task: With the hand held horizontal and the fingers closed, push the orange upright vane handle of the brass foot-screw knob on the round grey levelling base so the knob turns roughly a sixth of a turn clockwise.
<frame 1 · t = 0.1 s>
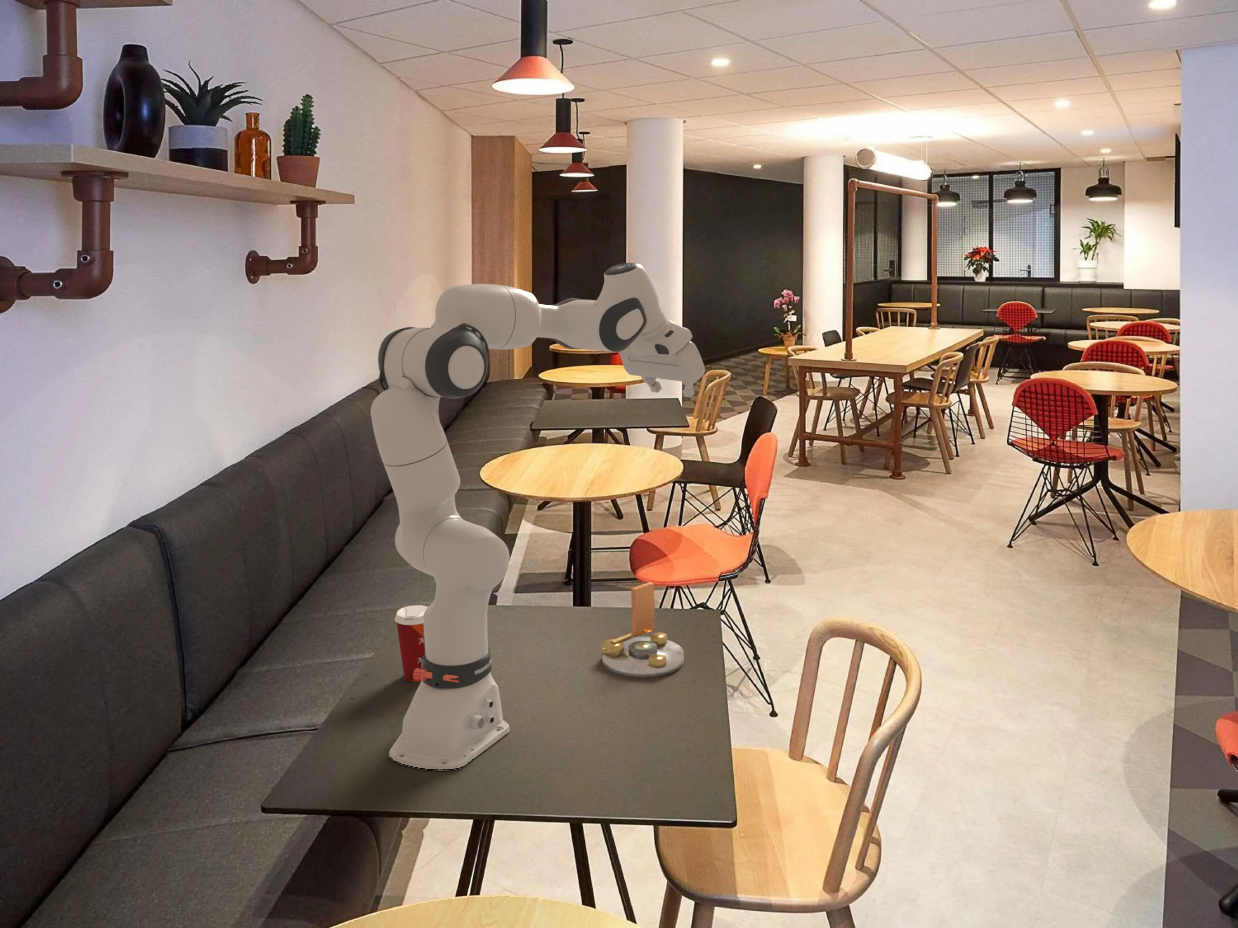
hand: (673, 393, 198), 54 cm above the table, tool tilted 30°, fingers open, 8 cm apart
paper cup: (418, 676, 194), on the table
levelling base: (643, 659, 199), on the table
vane knob: (628, 618, 201), point 8 cm above the table, hinge at 0.0°
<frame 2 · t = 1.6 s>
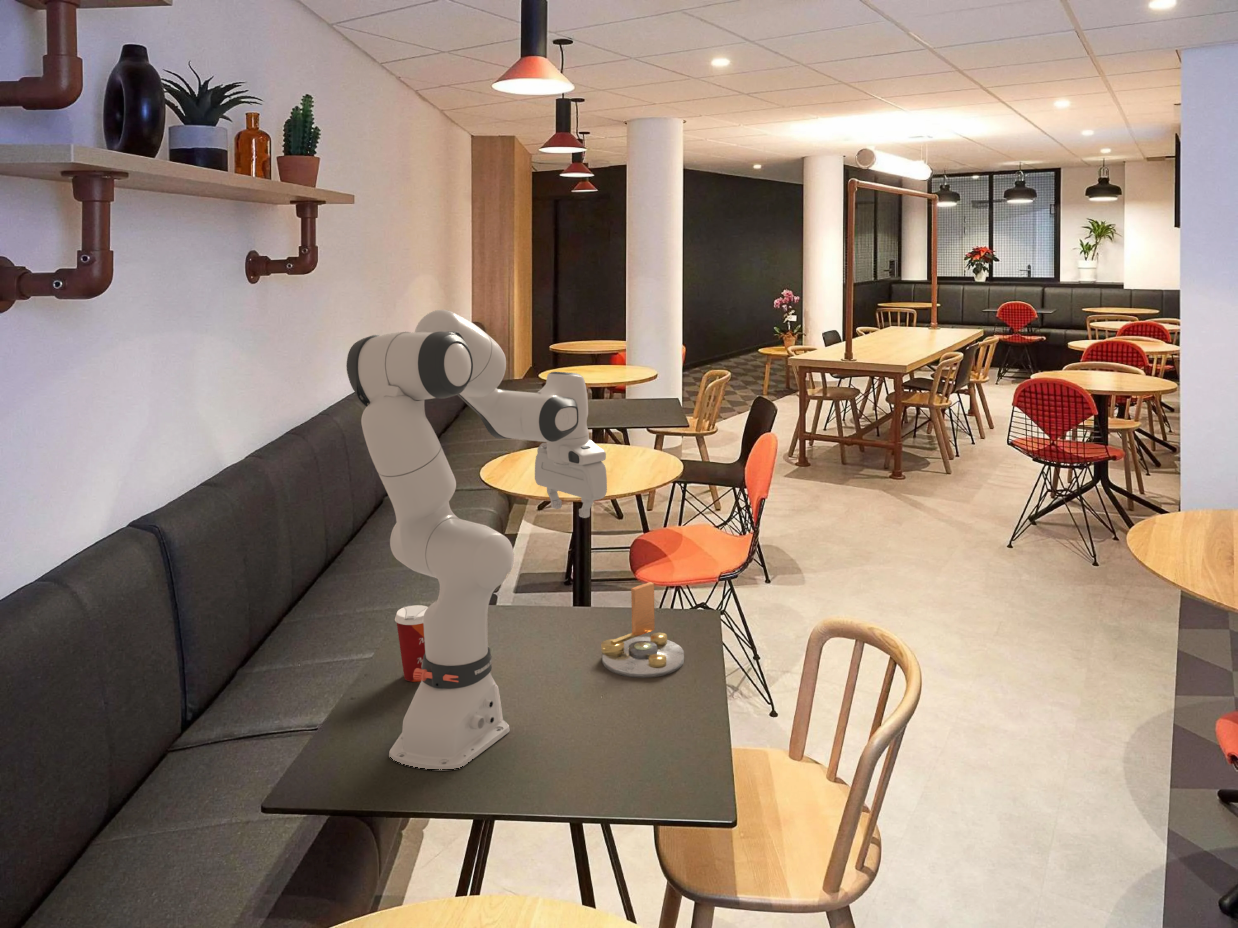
hand: (570, 512, 202), 29 cm above the table, tool pointing down, fingers open, 8 cm apart
nothing on the table moved.
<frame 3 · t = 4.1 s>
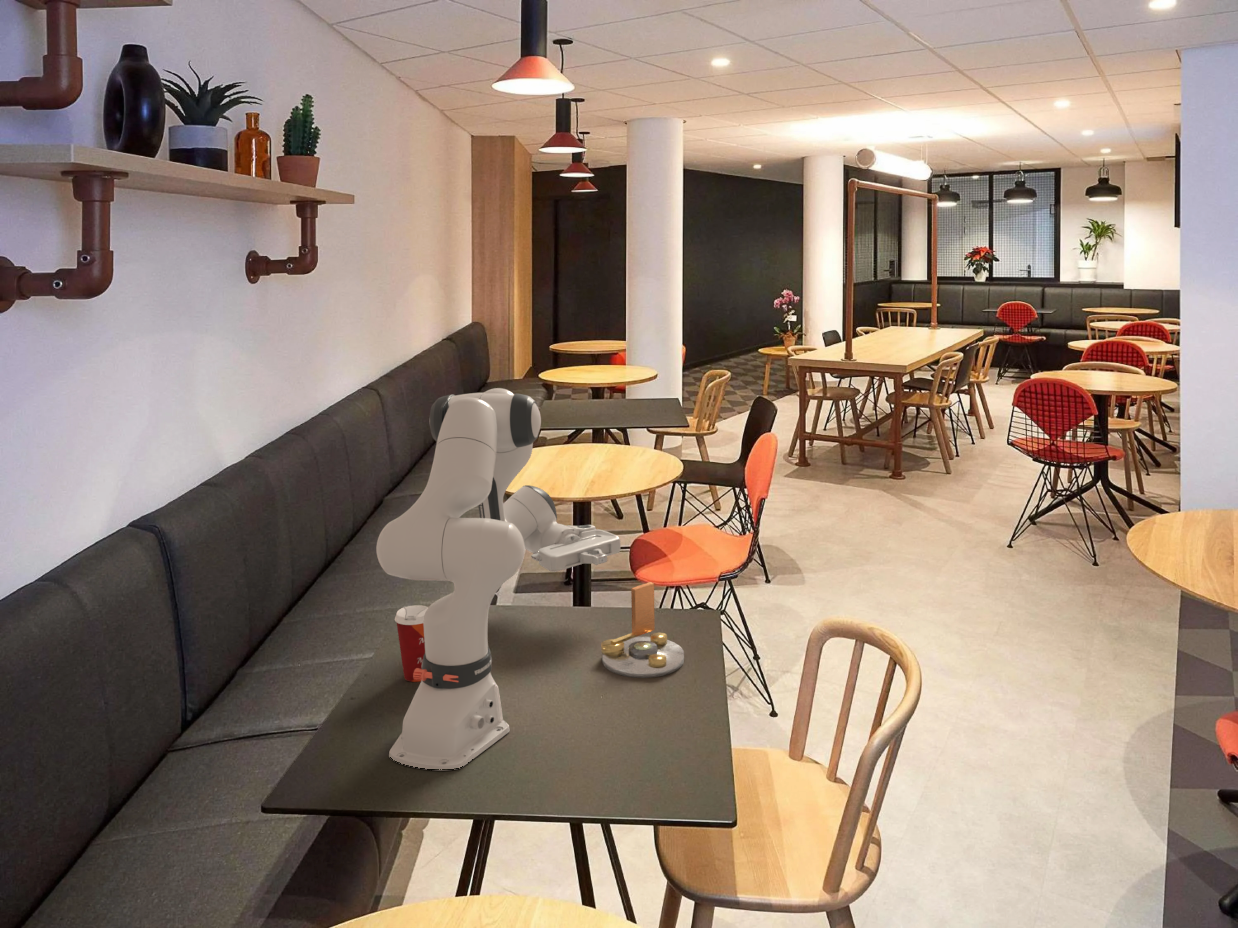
hand: (602, 560, 211), 17 cm above the table, tool horizontal, fingers closed
nothing on the table moved.
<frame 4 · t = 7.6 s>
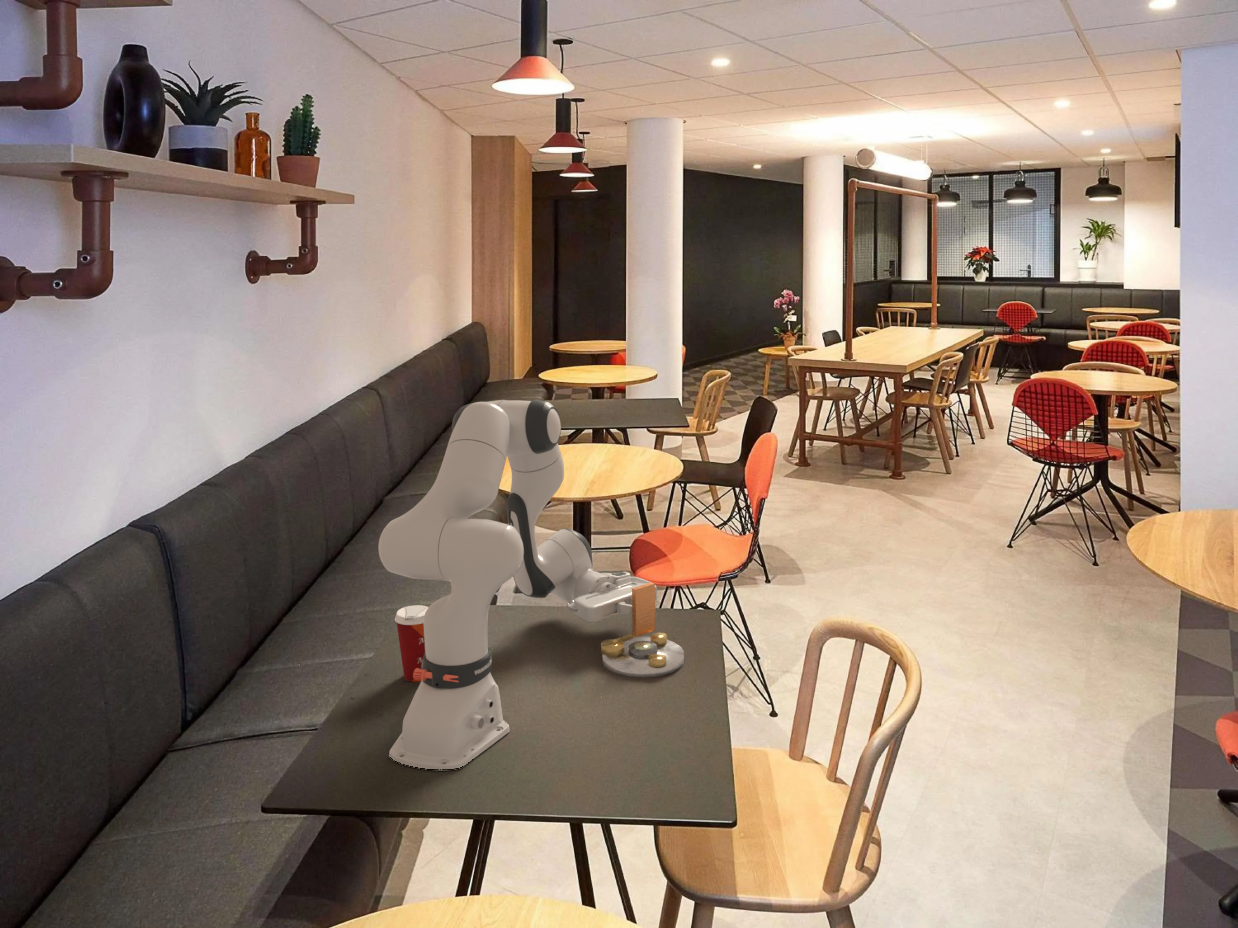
hand: (640, 610, 204), 8 cm above the table, tool horizontal, fingers closed, pressing on vane knob
vane knob: (628, 618, 201), point 8 cm above the table, hinge at 1.3°, touching gripper
everything else where it was.
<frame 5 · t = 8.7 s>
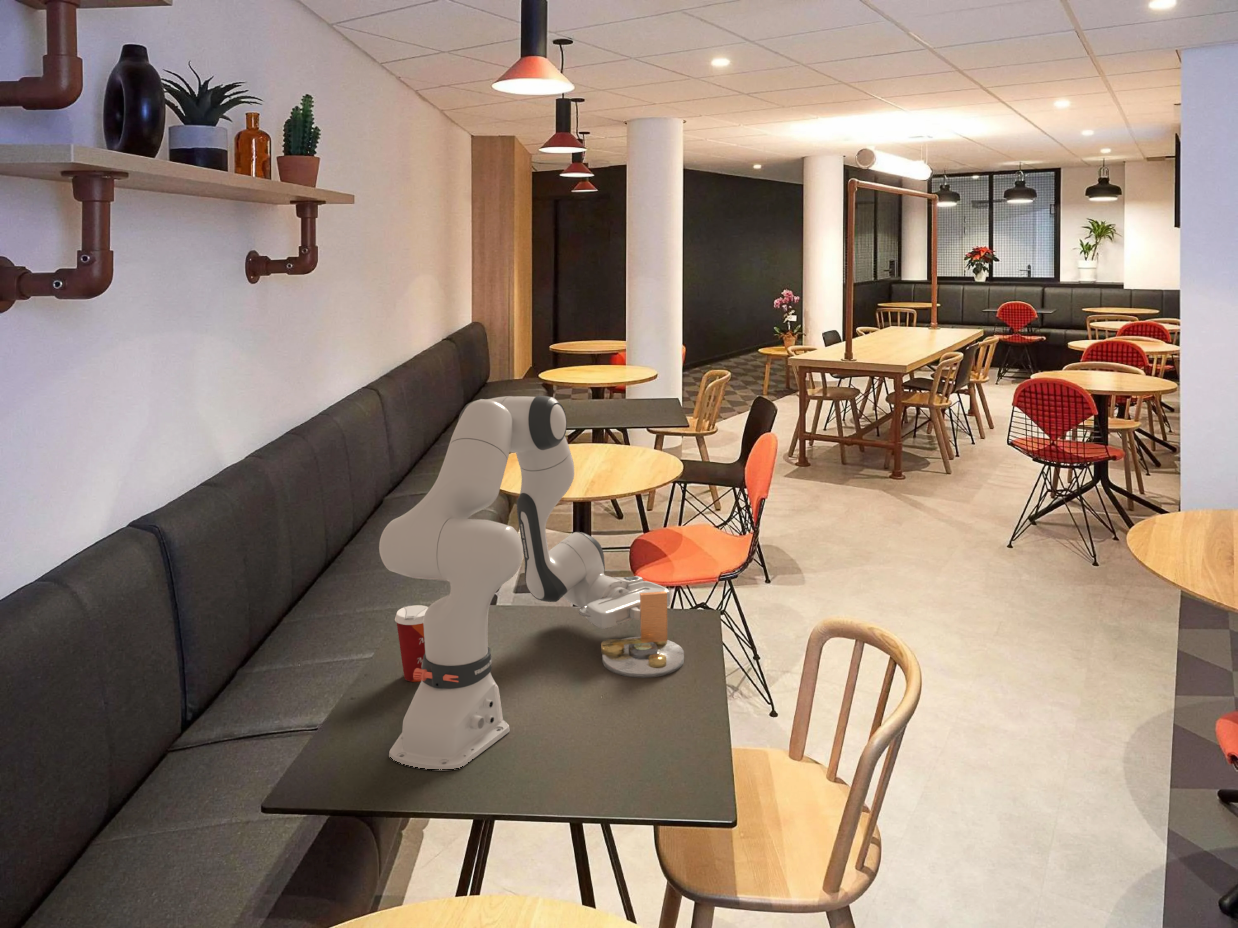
hand: (654, 615, 201), 8 cm above the table, tool horizontal, fingers closed
vane knob: (633, 622, 199), point 8 cm above the table, hinge at 32.7°, touching gripper
everything else where it was.
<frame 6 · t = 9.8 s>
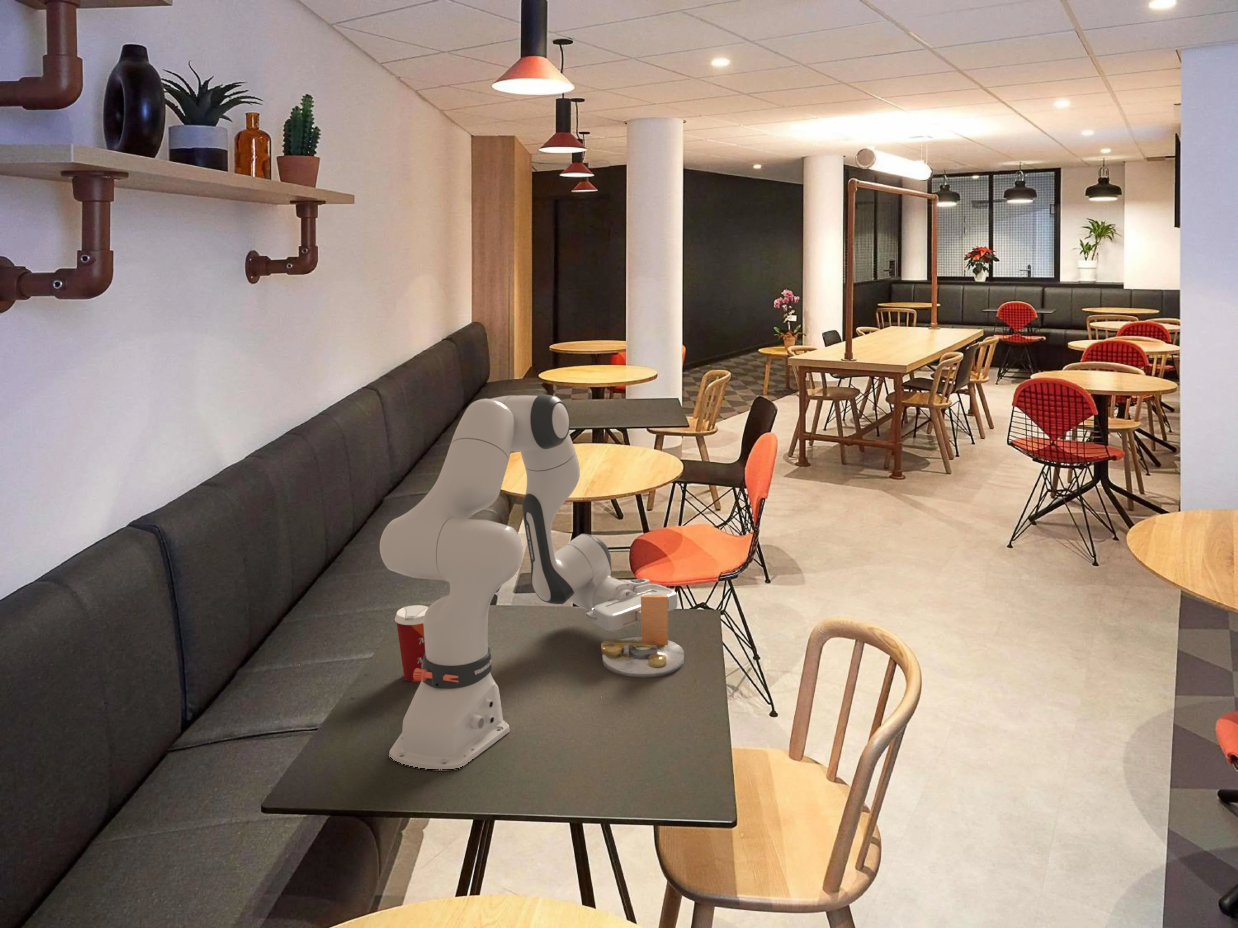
hand: (661, 618, 199), 8 cm above the table, tool horizontal, fingers closed
vane knob: (634, 623, 198), point 8 cm above the table, hinge at 43.5°, touching gripper
everything else where it was.
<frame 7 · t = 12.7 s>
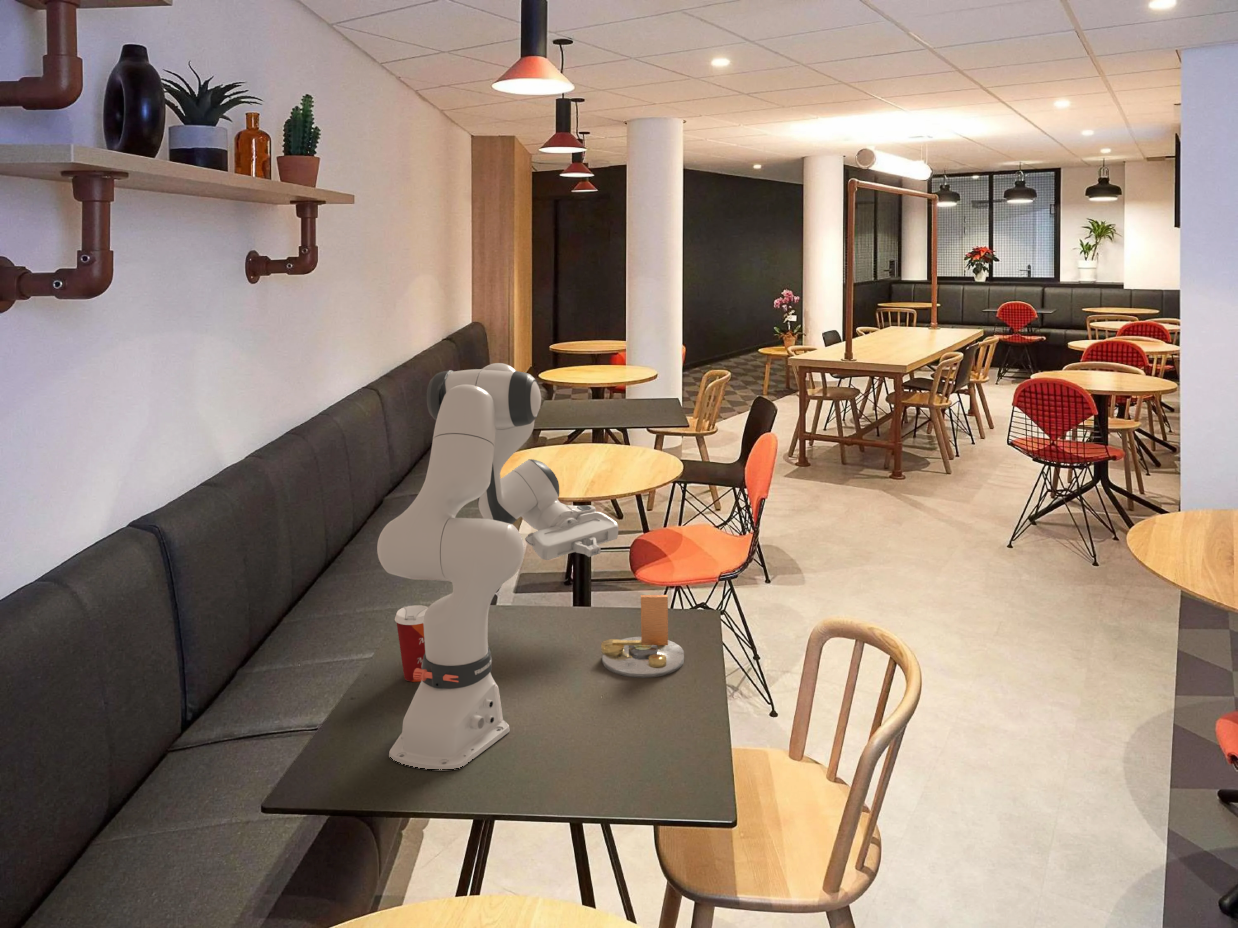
hand: (595, 552, 208), 19 cm above the table, tool horizontal, fingers closed
vane knob: (634, 623, 198), point 8 cm above the table, hinge at 43.6°
everything else where it was.
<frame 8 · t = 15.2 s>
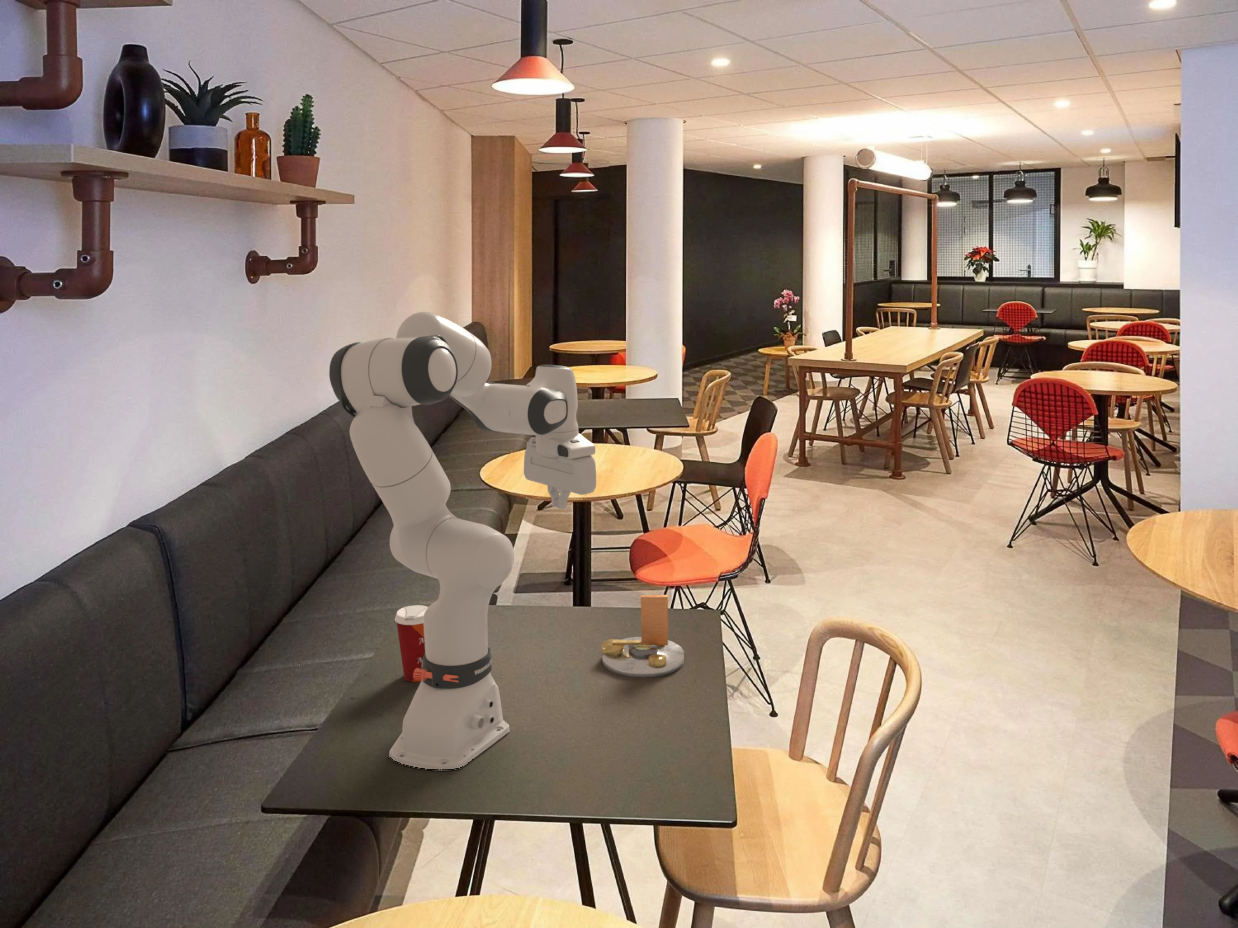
hand: (559, 507, 200), 31 cm above the table, tool pointing down, fingers closed
nothing on the table moved.
at the end: vane knob at +44° (first picture: +0°) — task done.
